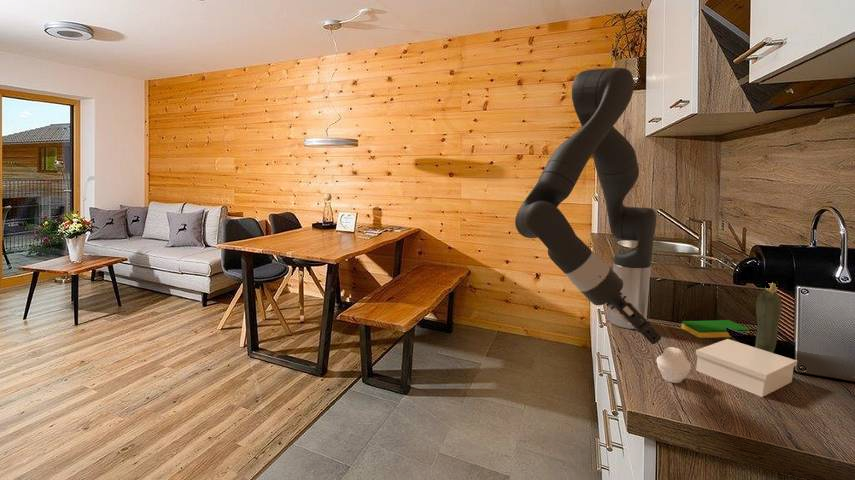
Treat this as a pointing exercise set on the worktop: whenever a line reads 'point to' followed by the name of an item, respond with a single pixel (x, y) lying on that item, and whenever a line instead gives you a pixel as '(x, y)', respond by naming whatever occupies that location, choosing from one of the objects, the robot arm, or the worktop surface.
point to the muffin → (673, 365)
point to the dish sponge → (711, 328)
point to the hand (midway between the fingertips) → (647, 332)
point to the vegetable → (768, 318)
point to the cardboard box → (745, 366)
